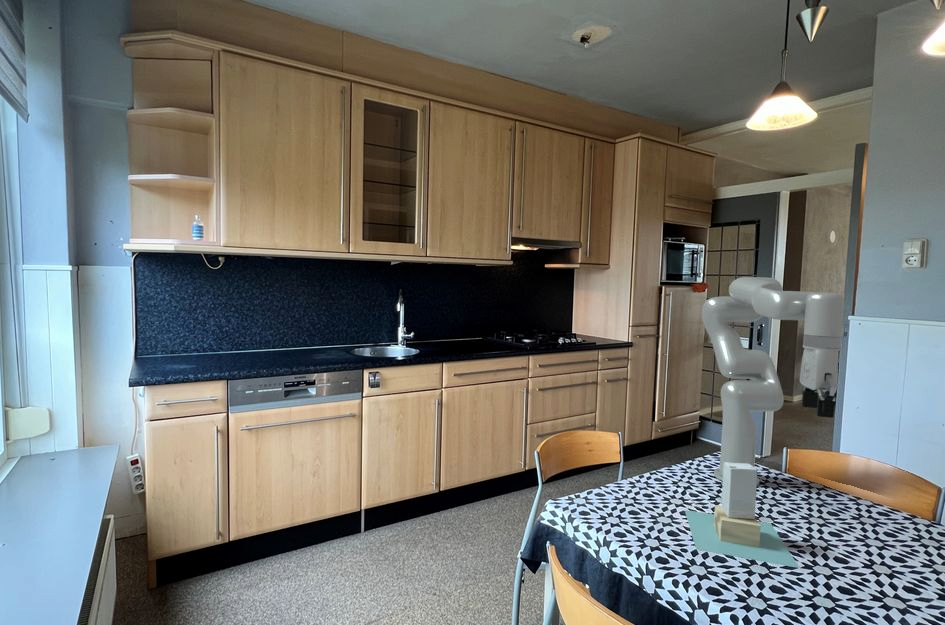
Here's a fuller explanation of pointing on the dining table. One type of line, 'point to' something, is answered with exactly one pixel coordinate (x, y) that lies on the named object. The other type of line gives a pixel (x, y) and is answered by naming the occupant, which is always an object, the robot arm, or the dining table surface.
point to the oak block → (736, 529)
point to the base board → (766, 552)
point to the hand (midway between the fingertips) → (816, 411)
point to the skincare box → (739, 490)
